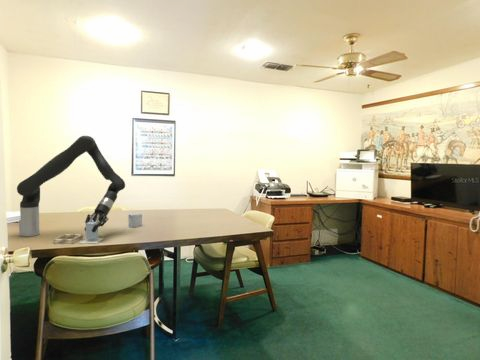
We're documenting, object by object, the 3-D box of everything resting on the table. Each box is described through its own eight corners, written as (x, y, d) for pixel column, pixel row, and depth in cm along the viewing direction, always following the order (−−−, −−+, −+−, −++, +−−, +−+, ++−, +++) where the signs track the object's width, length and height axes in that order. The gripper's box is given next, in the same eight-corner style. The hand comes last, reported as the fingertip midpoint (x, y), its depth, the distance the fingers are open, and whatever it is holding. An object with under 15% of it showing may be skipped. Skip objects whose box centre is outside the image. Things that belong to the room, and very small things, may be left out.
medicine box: (138, 225, 215) (138, 213, 214) (142, 226, 212) (142, 213, 211) (128, 226, 209) (128, 214, 208) (131, 228, 206) (131, 215, 205)
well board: (53, 243, 167) (53, 239, 167) (64, 237, 178) (63, 234, 178) (73, 243, 168) (73, 239, 168) (83, 238, 179) (83, 234, 179)
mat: (79, 243, 168) (79, 242, 168) (87, 238, 178) (87, 237, 178) (96, 243, 169) (96, 242, 169) (103, 238, 179) (103, 238, 179)
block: (85, 238, 172) (85, 223, 171) (91, 236, 176) (91, 221, 176) (92, 239, 171) (92, 224, 170) (98, 237, 175) (97, 222, 174)
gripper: (91, 202, 181) (75, 226, 171) (111, 204, 177) (96, 229, 167) (98, 209, 187) (82, 233, 176) (117, 211, 183) (103, 236, 172)
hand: (89, 231), depth 171 cm, fingers closed on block, 4 cm apart
